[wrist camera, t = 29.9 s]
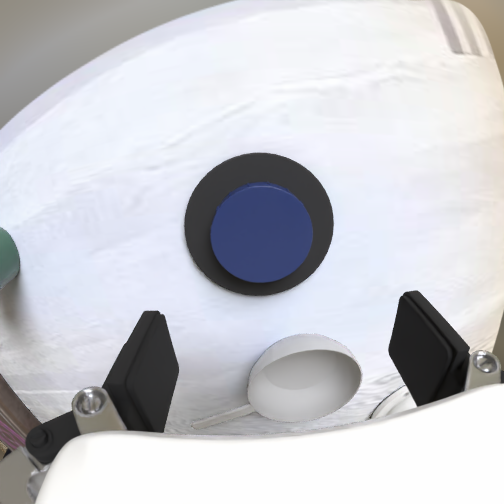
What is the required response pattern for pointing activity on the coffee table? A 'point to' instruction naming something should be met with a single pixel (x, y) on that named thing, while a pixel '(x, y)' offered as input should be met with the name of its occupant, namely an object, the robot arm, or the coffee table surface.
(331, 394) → the saucepan
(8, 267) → the jar
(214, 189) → the coaster
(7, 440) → the book
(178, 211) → the coffee table surface
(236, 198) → the lid
